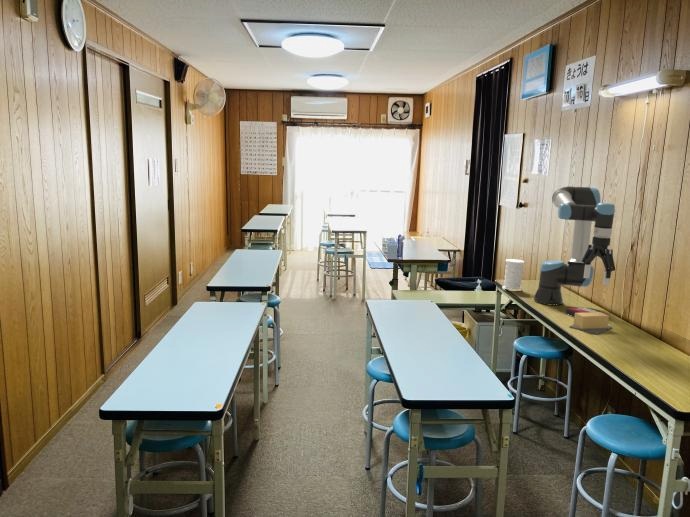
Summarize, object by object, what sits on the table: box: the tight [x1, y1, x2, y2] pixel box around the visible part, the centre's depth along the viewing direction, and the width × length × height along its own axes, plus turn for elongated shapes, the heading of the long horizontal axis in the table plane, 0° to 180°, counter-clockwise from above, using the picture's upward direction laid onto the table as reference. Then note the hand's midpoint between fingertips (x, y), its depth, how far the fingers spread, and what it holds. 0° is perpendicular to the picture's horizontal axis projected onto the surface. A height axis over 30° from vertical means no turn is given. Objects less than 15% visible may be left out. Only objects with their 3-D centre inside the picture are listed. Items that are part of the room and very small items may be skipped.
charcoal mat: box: [569, 324, 613, 335], centre depth 255 cm, size 17×13×1 cm
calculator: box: [565, 306, 605, 317], centre depth 273 cm, size 11×4×15 cm
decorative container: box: [501, 258, 525, 291], centre depth 327 cm, size 12×12×18 cm
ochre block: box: [572, 311, 610, 329], centre depth 254 cm, size 6×6×14 cm
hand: (595, 281), depth 253 cm, fingers open, 13 cm apart
